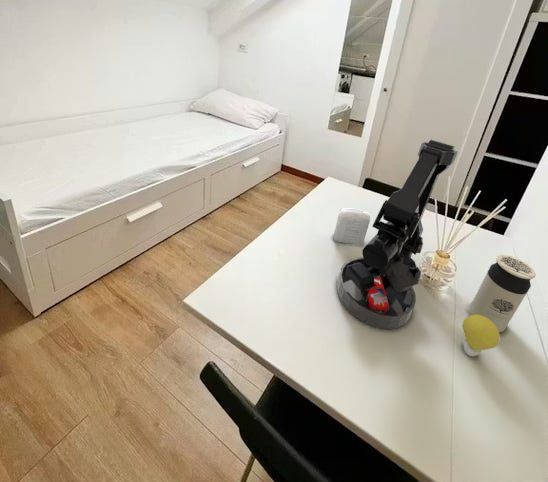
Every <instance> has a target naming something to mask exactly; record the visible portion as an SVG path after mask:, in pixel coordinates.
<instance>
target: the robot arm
mask: <svg viewBox="0 0 548 482" xmlns="http://www.w3.org/2000/svg"><path fill="white" fill-rule="evenodd" d="M457 155H458V150H455V146H454V145H451V144H448V143H445V142H441V141H439V140H434V139H430V140H429V141H428V142H427V141H424V142H421V145H420V147H419V150H418V152H417V156H418V159H417V160H416V163H415V165H414V166H413V168H412V170H411V172H410V173H409V175H408V177H407V178H406V181H405V182H404V184H403V185H402V187H401V188H400V189H398V190H396V191H393V192H392V193H391V195H390V196H389V198H388V199H385V200H384V202H383V203H382V205H381V207H380V210H379V211H378V214H377V216H376V217H375V219H374V222H373V223H372V228H374V229H376V230H377V233H376V234H375V235H374V236H373V237H372V238H371V240H369V241H368V243H367V244H366V245H364V247H363V248H362V252H361V253H362V254H361V255H362V258H364V260H365V261H366V263H367V264H368V265H370V266H371V267H369V268H366V267H365V266H364V265H363V264H362V263H361V262H360V263H355V264H352V265H348V266H347V270H346V274H347V276H348V277H349V278H350V279H351V280H352V281H353V283H354V284H355V285H356V286H357V287H358V289H361V293H362V295H363V296H364V297H366V296H367V294H368V292H369V290H370V288H372V287H375V286H376V285H375V284H374V279H375V278H374V277H376V276H379V275H382V276H383V279H382V283H383V286H384V289H385V290H386V289H387V288H388V287H389V286H390V285H392V286H393V289H394V290H395V292H397V293H401V292H403V291H406V290H409V289H410V288H412V287H413V288H414V286H417V285H418V284H419V283H420V282H419V281H420V280H421V279H420V278H421V275H422V271H421V270H420V268H419V267H418V266H417V265H416V264H417V263H416V262H415V260H414V259H413V258H412V256H413V255H417V254H421V252H422V249H423V246H424V243H423V242H424V241H423V239H424V238H423V236H422V235H423V232H424V227H423V224H422V218H423V216H424V213H425V211H426V208H427V205H428V204H429V201H430V199H431V196H432V193H433V191H434V188H435V186H436V183H437V181H438V179H439V175H440V174H442V173H443V172H445V171H446V170H448V169H449V168H450V166H451V165H453V164H454V162H455V161H456V158H457ZM381 220H384V221H386V222H384V221H381Z"/></svg>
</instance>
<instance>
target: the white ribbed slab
mask: <svg viewBox="0 0 548 482" xmlns="http://www.w3.org/2000/svg"><path fill="white" fill-rule="evenodd" d="M370 221H371V215H370V212H368V211H365V210H363V209H358V208H351V207H350V208H349V207H347V208H346V207H345V208H340V210H339V212H338V215H337V219H336V223H335V228H334V231H333V235H332V239H333V240H334V241H335V242H338V243H344V244H349V245H355V246H363V245H364V242H365V238H366V235H367V232H368V228H369V225H370Z"/></svg>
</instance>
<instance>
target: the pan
mask: <svg viewBox="0 0 548 482" xmlns="http://www.w3.org/2000/svg"><path fill="white" fill-rule="evenodd" d="M360 262H361V263H362V264H363V265H364V266H365V267H366V268H369V267H371V266H370V265H368V264H367V263H366V261H365V260H364V258H363V257H355V258H352V259H349V260H348V261H346V262H345V263H344V264H343V265H342V267H340V270H339V276H338V279H337V284H336V291H337V295H338V299H339V300H340V303H341V304H342V305H343V307H344V308H345V309H346V310H347V312H349V314H350V315H352V316H353V317H354V318H356V319H357V320H359V321H360V322H362V323H364V324H365V325H368V326H370V327H373V328H377V329H380V330H394V329H398V328H400V327H403V326H404V325H405V324H406V323H407V322H408V321H409V319H410V318H411V315H412V313H413V311H414V308H415V305H416V301H417V298H416V297H417V296H416V292H415V290H414V286H413V287H412V288H410V289H409V290H406V291H403V292H401V293H397V292H395V290H394V289H393V286H392V285H390V286H389V287H388V288H387V289H386V290H385V293H388V294H386V296H387V300H388V303H389V311H388V312H387V313H386V314H383V313H379V312H376V311H373V310H371V309H369V308H367V302H366V298H365V297H364V296H363V295H362V293H361V289H358V287H357V286H356V285H355V284H354V283H353V281H352V280H351V279H350V278H349V277H348V276H347V274H346V270H347V266H348V265H352V264H355V263H360ZM380 277H381V280H382V279H383V276H382V275H380Z"/></svg>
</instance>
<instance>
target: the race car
mask: <svg viewBox="0 0 548 482" xmlns="http://www.w3.org/2000/svg"><path fill="white" fill-rule="evenodd" d="M374 278H375V279H374V284H375V285H376V286H375V287H372V288H370V290H369V292H368V294H367V296H366V297H365V298H366V302H367V308H369V309H371V310H373V311H376V312H379V313H383V314H386V313H387V312H388V311H389V303H388V300H387V296H386V294H388V293H385V289H384V286H383V283H382V280H381V277H380V275H379V276H376V277H374Z"/></svg>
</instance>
